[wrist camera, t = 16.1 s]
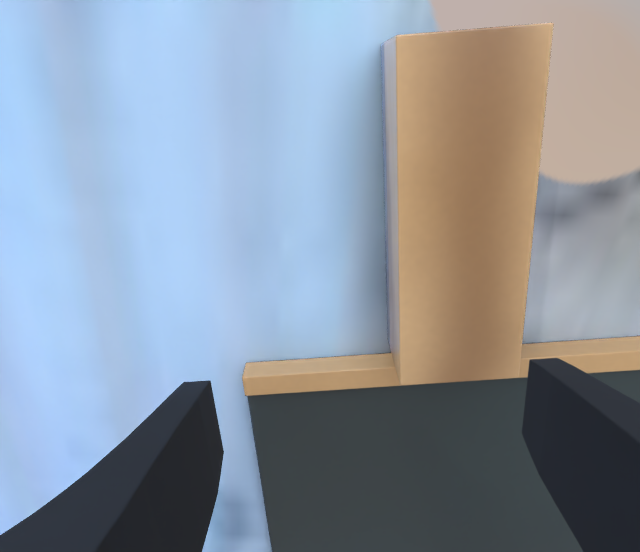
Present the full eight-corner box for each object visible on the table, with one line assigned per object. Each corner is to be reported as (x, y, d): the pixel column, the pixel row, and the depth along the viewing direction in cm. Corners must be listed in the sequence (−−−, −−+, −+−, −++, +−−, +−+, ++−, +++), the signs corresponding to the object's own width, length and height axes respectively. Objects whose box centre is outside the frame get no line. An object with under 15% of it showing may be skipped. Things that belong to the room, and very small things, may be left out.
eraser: (387, 339, 22) (400, 386, 18) (380, 43, 17) (395, 35, 14) (488, 333, 21) (519, 378, 18) (509, 32, 17) (554, 22, 14)
